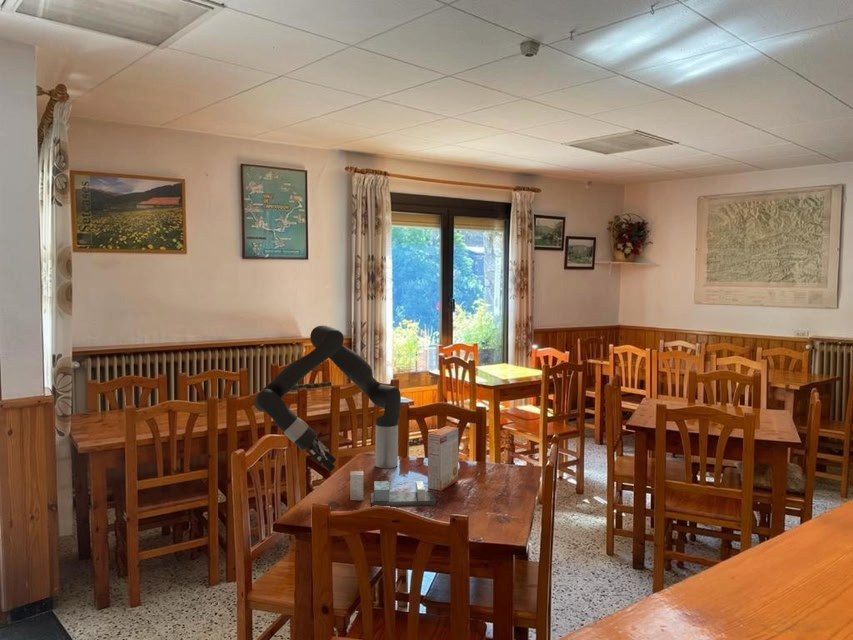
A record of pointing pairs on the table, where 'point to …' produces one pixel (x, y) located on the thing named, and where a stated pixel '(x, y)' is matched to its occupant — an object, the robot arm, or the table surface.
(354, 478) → the steel block
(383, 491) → the sliding jaw
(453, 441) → the cracker box
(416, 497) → the vise bed
